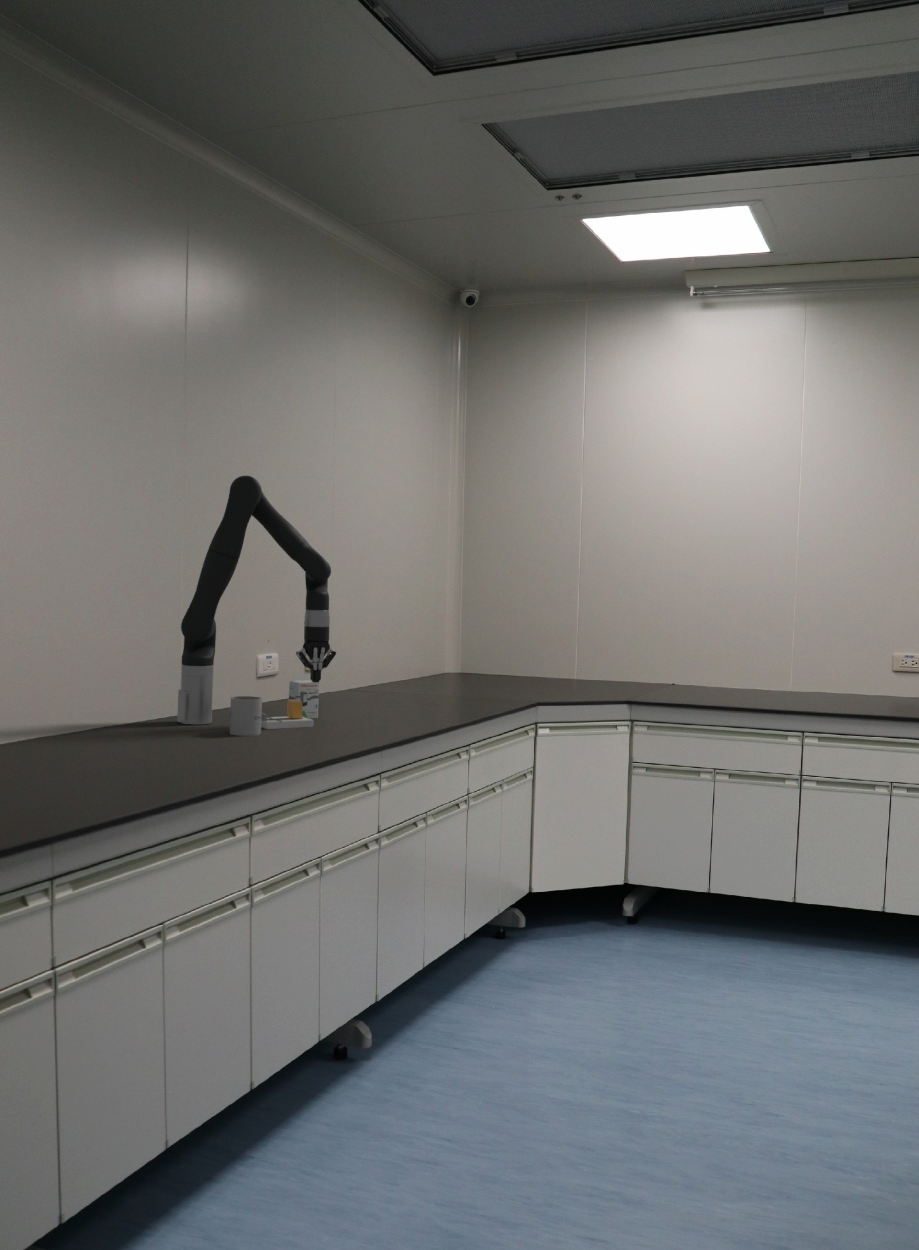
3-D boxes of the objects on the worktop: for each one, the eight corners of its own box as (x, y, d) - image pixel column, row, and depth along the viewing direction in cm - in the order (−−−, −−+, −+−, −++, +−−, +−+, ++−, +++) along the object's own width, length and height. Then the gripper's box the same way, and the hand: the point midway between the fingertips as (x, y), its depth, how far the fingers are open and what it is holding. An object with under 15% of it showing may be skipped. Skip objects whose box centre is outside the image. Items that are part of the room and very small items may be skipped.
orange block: (292, 718, 311) (293, 702, 310) (286, 716, 314) (287, 700, 314) (301, 717, 312) (302, 701, 312) (296, 716, 316) (296, 700, 315)
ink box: (296, 719, 325) (297, 682, 324) (287, 718, 328) (288, 680, 328) (318, 718, 331) (320, 681, 330) (309, 716, 334) (310, 679, 334)
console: (267, 729, 303) (267, 715, 303) (253, 724, 311) (253, 711, 311) (313, 726, 311) (314, 713, 311) (298, 722, 320) (299, 709, 319)
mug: (250, 736, 288) (252, 700, 288) (223, 734, 291) (224, 698, 290) (272, 731, 300) (274, 696, 299) (246, 728, 302) (247, 694, 302)
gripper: (302, 625, 309) (301, 684, 309) (342, 625, 316) (340, 682, 317) (291, 624, 315) (290, 681, 316) (330, 624, 322) (329, 680, 323)
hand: (315, 682), depth 316 cm, fingers closed
